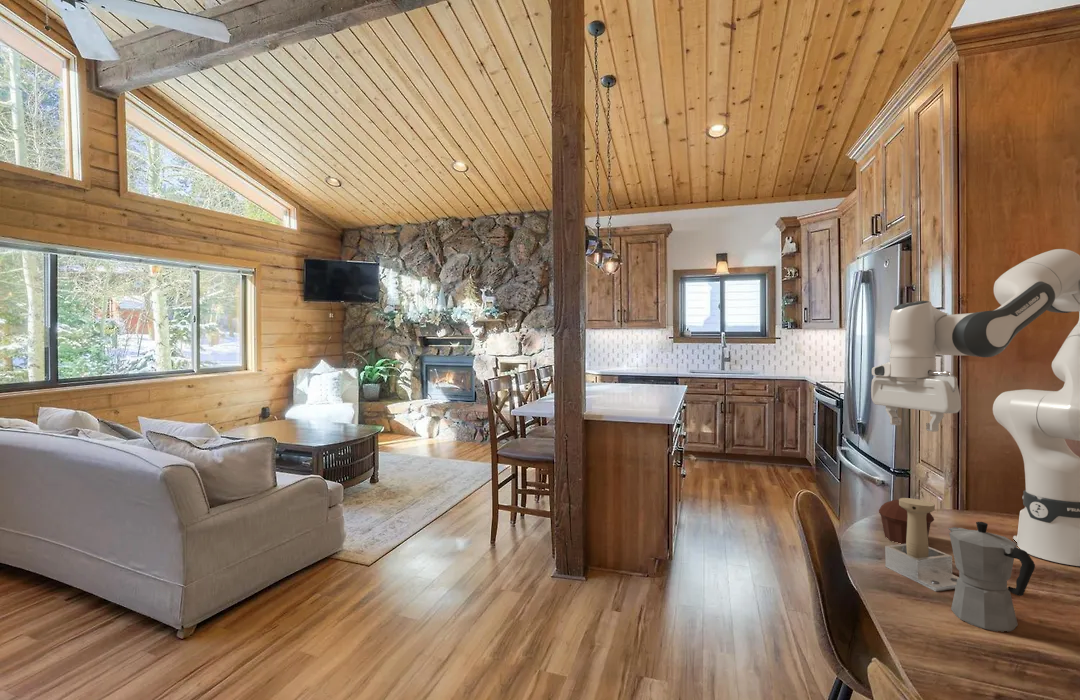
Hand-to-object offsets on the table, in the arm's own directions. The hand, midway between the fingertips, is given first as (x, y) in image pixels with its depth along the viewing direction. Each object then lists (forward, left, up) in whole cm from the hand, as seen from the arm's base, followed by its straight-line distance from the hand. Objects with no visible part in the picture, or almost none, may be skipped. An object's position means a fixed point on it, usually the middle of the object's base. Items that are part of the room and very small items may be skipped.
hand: (913, 427), depth 119 cm
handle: (+6, +6, -30) cm, 32 cm away
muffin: (-8, -10, -31) cm, 34 cm away
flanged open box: (+6, +8, -31) cm, 33 cm away
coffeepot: (+12, +25, -31) cm, 42 cm away
